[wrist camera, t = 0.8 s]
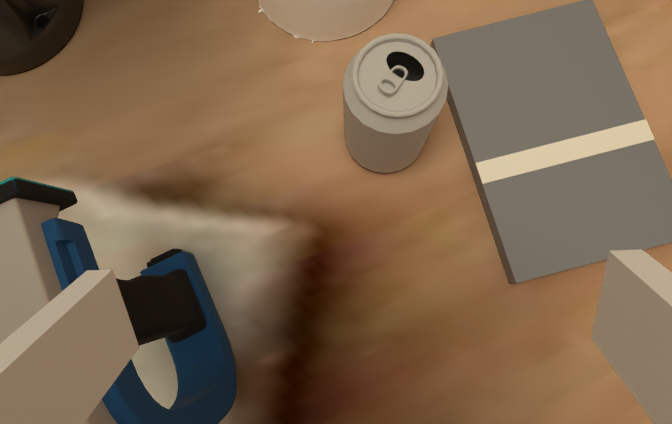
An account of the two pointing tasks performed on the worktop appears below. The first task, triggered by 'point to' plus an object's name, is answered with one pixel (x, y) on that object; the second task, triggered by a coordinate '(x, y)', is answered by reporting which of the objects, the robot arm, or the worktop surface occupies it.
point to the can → (392, 101)
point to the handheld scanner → (139, 298)
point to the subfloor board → (555, 141)
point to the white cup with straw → (324, 16)
